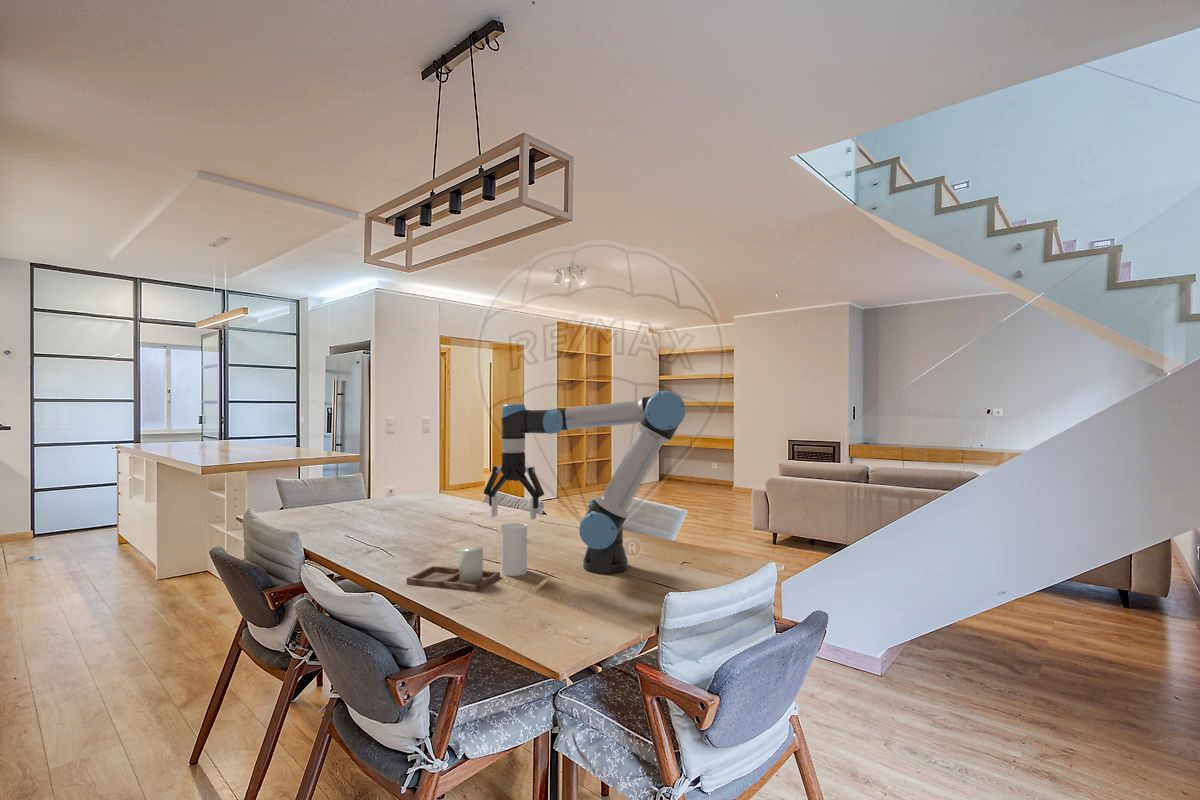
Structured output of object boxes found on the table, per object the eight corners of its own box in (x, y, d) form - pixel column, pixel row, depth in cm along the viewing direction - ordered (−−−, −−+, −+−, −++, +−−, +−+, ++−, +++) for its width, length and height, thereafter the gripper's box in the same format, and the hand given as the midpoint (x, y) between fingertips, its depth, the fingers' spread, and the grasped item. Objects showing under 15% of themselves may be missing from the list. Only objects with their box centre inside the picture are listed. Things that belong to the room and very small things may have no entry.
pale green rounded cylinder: (486, 579, 174) (486, 547, 174) (475, 586, 167) (475, 552, 167) (466, 577, 176) (466, 545, 176) (454, 584, 169) (454, 551, 169)
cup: (529, 571, 186) (529, 523, 186) (523, 579, 177) (523, 528, 177) (504, 570, 186) (505, 522, 186) (497, 578, 178) (498, 528, 178)
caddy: (499, 580, 177) (500, 572, 177) (478, 594, 163) (478, 586, 163) (432, 573, 183) (432, 565, 183) (406, 586, 170) (406, 578, 170)
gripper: (553, 451, 182) (554, 517, 182) (484, 449, 189) (484, 513, 189) (545, 453, 175) (545, 521, 175) (473, 451, 182) (473, 517, 182)
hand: (513, 517), depth 182 cm, fingers open, 13 cm apart
